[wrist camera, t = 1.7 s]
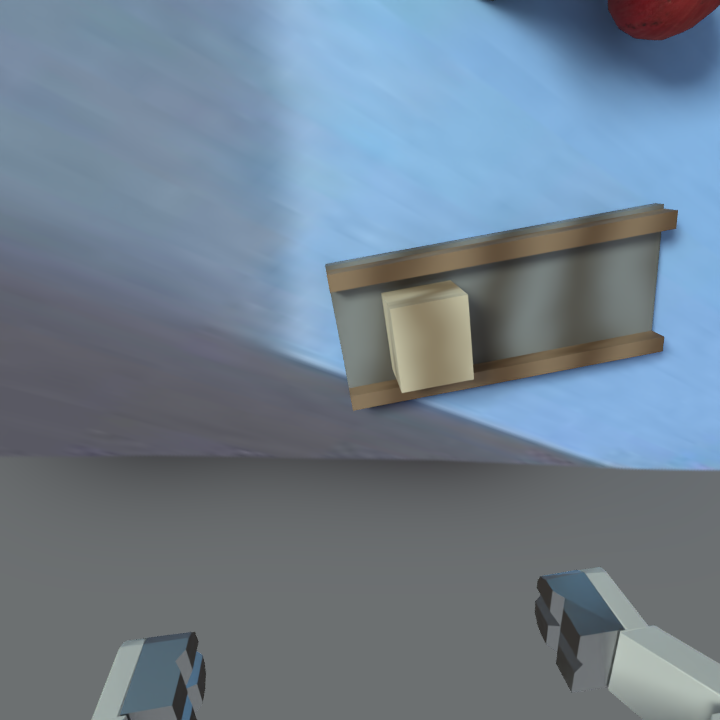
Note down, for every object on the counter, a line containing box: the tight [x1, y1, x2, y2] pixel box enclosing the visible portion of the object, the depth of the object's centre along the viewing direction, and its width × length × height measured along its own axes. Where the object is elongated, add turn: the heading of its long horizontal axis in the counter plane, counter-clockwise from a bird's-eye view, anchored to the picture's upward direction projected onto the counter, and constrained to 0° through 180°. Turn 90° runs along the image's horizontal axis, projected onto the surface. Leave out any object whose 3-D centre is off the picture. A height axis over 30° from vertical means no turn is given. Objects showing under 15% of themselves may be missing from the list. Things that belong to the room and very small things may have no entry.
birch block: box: [381, 280, 474, 393], centre depth 32 cm, size 5×6×4 cm
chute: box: [325, 203, 678, 411], centre depth 34 cm, size 24×11×2 cm, turn 99°
